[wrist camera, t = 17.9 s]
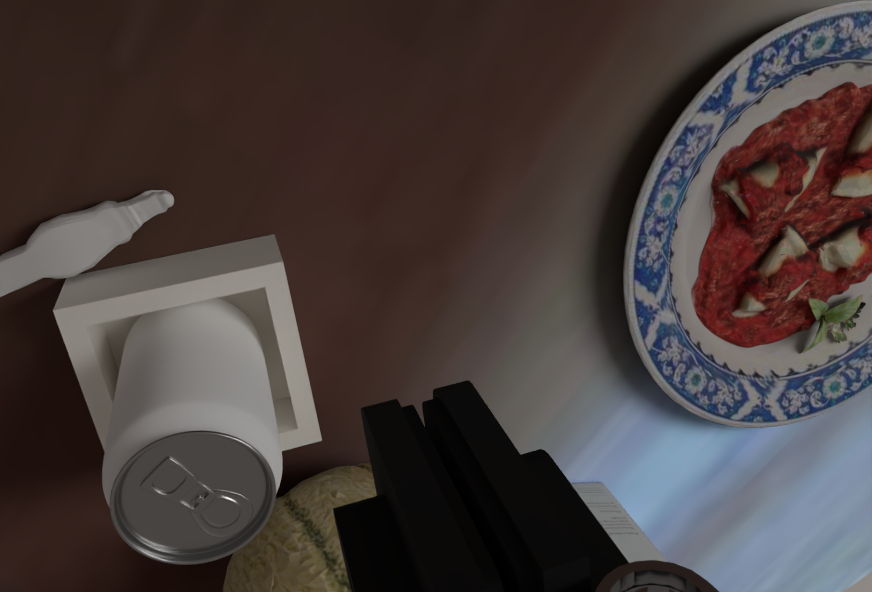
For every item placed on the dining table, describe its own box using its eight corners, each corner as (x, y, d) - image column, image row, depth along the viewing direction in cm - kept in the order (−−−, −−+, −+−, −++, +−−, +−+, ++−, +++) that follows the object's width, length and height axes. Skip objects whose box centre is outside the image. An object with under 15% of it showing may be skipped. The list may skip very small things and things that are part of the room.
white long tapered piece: (159, 162, 35) (155, 173, 33) (189, 212, 36) (188, 225, 34) (-149, 309, 34) (-168, 328, 32) (-107, 354, 35) (-123, 375, 34)
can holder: (274, 234, 37) (282, 261, 34) (310, 400, 41) (322, 440, 38) (66, 276, 35) (52, 310, 32) (126, 447, 39) (120, 494, 36)
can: (200, 432, 39) (204, 602, 29) (93, 360, 36) (52, 519, 26) (288, 344, 39) (325, 484, 28) (187, 264, 36) (185, 386, 25)
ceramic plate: (592, 47, 39) (621, 53, 36) (1002, -38, 44) (1054, -39, 41) (617, 457, 50) (640, 485, 47) (943, 352, 55) (981, 371, 52)
